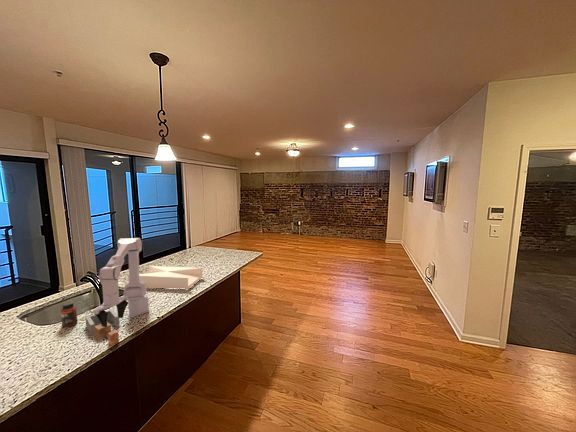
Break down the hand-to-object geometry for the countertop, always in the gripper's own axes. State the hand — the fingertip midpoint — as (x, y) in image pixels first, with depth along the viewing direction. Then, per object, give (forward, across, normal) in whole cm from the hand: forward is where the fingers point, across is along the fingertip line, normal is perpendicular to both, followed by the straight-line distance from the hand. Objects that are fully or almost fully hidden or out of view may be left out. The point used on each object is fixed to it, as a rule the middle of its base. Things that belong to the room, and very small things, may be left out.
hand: (112, 321), depth 111 cm
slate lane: (+10, -8, -18) cm, 22 cm away
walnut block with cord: (+10, -2, -6) cm, 12 cm away
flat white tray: (+11, -66, -32) cm, 74 cm away
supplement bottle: (+10, -4, -36) cm, 38 cm away
